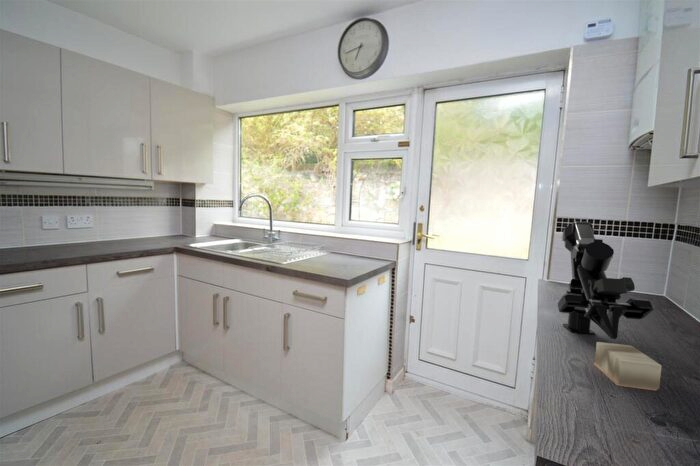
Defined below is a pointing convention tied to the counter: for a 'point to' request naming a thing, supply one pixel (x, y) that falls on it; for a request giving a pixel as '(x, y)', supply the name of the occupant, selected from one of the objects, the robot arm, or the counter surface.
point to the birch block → (628, 365)
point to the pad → (617, 382)
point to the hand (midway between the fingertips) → (614, 338)
